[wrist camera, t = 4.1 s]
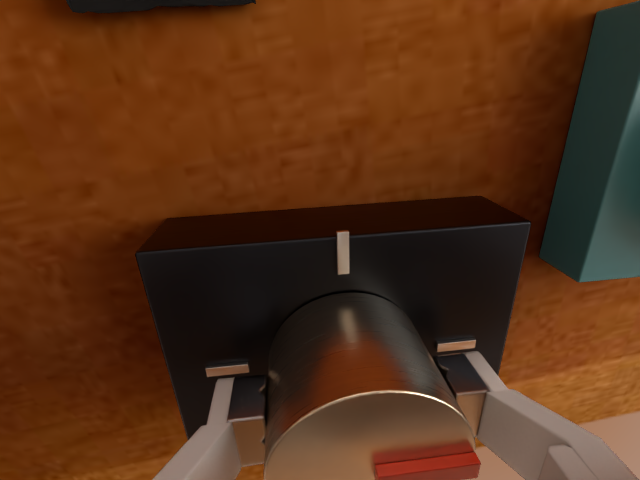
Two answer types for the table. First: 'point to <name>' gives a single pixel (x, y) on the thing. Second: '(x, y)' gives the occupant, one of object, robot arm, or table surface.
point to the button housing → (601, 160)
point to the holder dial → (360, 399)
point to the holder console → (326, 281)
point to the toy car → (142, 4)
